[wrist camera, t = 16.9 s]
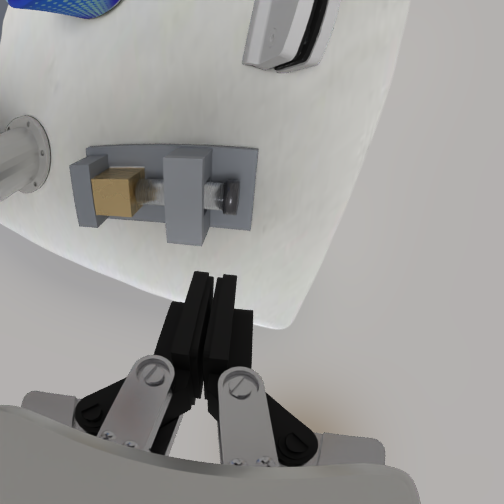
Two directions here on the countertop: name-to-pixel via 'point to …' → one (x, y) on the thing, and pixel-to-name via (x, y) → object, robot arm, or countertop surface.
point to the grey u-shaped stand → (172, 185)
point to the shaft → (214, 194)
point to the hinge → (289, 33)
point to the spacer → (117, 191)
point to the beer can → (67, 6)
